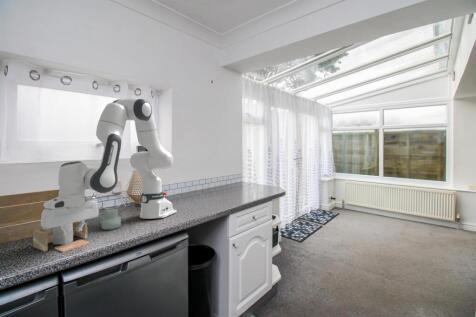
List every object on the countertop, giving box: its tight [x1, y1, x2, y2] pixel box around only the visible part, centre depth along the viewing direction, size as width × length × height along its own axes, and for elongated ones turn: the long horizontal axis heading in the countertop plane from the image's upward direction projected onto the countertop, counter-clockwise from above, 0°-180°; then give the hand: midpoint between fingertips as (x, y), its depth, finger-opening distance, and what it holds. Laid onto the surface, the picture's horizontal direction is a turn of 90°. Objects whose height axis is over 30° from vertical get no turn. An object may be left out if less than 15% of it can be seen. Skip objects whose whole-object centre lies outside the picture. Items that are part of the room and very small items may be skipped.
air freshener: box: [101, 207, 122, 231], centre depth 117 cm, size 11×8×10 cm
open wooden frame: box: [32, 221, 88, 252], centre depth 99 cm, size 16×10×7 cm, turn 152°
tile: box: [53, 239, 91, 253], centre depth 94 cm, size 10×7×1 cm
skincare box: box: [52, 223, 74, 245], centre depth 98 cm, size 6×4×12 cm
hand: (72, 233), depth 94 cm, fingers open, 4 cm apart
